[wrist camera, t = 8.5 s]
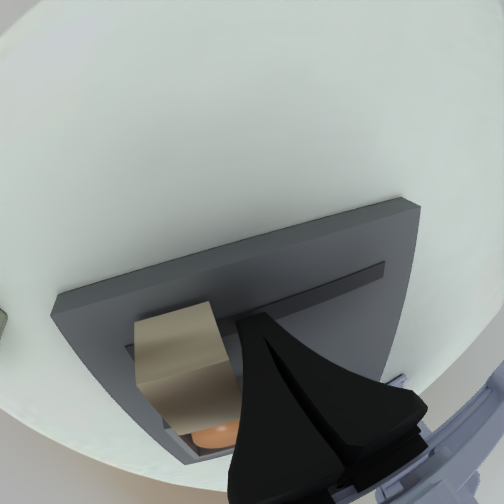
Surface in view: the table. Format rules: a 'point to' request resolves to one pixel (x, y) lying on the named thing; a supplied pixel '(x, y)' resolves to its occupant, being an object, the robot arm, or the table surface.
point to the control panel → (256, 302)
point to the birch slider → (186, 369)
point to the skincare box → (2, 322)
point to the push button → (217, 436)
